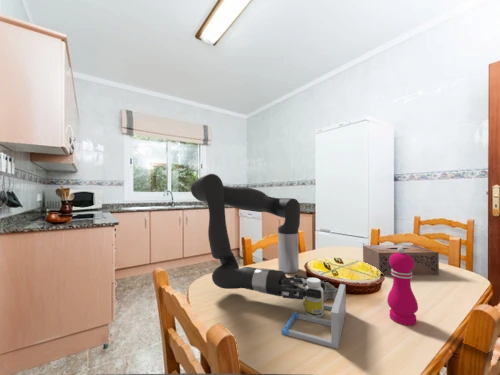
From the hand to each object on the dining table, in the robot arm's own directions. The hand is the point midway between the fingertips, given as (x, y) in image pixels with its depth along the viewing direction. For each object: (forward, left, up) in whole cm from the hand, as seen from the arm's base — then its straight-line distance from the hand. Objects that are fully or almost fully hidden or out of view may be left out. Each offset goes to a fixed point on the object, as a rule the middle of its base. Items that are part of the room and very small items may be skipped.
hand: (322, 290), depth 69 cm
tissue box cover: (-61, +14, -8) cm, 63 cm away
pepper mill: (-11, +19, -7) cm, 23 cm away
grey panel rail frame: (+5, 0, -7) cm, 8 cm away
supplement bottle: (0, -3, -7) cm, 8 cm away
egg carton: (-14, -5, -8) cm, 17 cm away
